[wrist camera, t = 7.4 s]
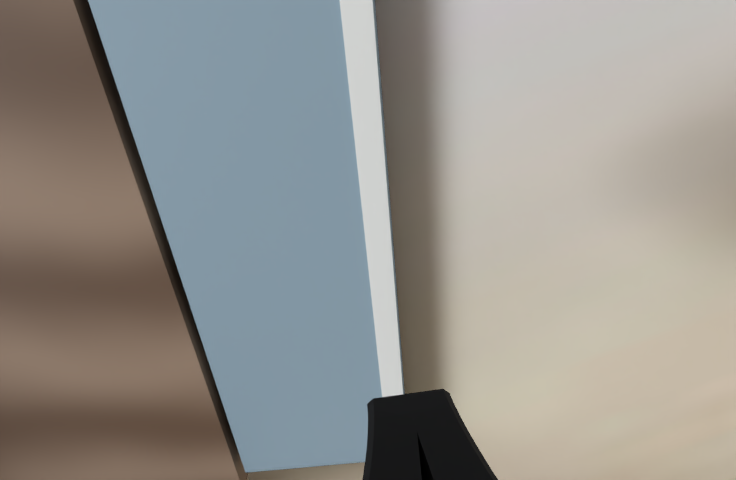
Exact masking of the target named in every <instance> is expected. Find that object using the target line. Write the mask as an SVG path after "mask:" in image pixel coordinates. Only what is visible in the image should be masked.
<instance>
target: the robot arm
mask: <svg viewBox="0 0 736 480" xmlns="http://www.w3.org/2000/svg"><path fill="white" fill-rule="evenodd" d="M367 409H368V436H367V449H366V458H365V466H364V475H363V480H498V479H497V478H496V476H495V475H494V473H493V471H492V470H491V468H490V467H489V465H488V464H487V462H486V460H485V459H484V457H483V455H482V454H481V452H480V450H479V449H478V447H477V445H476V444H475V442H474V440H473V439H472V437H471V435H470V433H469V432H468V430H467V428H466V426H465V424H464V423H463V421H462V419H461V417H460V415H459V413H458V411H457V409H456V407H455V405H454V403H453V401H452V398H451V396H450V394H449V393H448V392H447V391H445V390H444V389H439V390H432V391H424V392H417V393H410V394H402V395H395V396H387V397H380V398H373V399H372V400H371V401H370V402H369V403H368V404H367Z"/></svg>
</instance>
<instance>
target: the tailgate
mask: <svg viewBox="0 0 736 480" xmlns="http://www.w3.org/2000/svg"><path fill="white" fill-rule="evenodd" d="M88 2H89V5H90V8H91V11H92V14H93V17H94V20H95V23H96V26H97V29H98V32H99V35H100V38H101V41H102V44H103V47H104V50H105V53H106V56H107V59H108V62H109V65H110V68H111V71H112V74H113V77H114V80H115V83H116V86H117V89H118V92H119V95H120V98H121V101H122V104H123V107H124V110H125V113H126V116H127V119H128V122H129V125H130V128H131V131H132V134H133V137H134V140H135V143H136V146H137V149H138V152H139V155H140V158H141V161H142V164H143V167H144V170H145V173H146V176H147V179H148V182H149V185H150V188H151V191H152V194H153V197H154V200H155V203H156V206H157V209H158V212H159V215H160V218H161V221H162V224H163V227H164V230H165V233H166V236H167V239H168V242H169V245H170V248H171V251H172V254H173V257H174V260H175V263H176V266H177V269H178V272H179V275H180V278H181V281H182V284H183V287H184V290H185V293H186V296H187V299H188V302H189V305H190V308H191V311H192V314H193V317H194V320H195V323H196V326H197V329H198V332H199V335H200V338H201V341H202V344H203V347H204V350H205V353H206V356H207V359H208V362H209V365H210V368H211V371H212V374H213V377H214V380H215V383H216V386H217V389H218V392H219V395H220V398H221V401H222V404H223V407H224V410H225V413H226V416H227V419H228V422H229V425H230V428H231V431H232V434H233V437H234V440H235V443H236V446H237V449H238V452H239V455H240V458H241V461H242V464H243V467H244V470H245V473H247V472H259V471H270V470H281V469H292V468H303V467H314V466H325V465H337V464H348V463H359V462H365V458H366V449H367V436H368V409H367V404H368V403H369V402H370V401H371V400H372V399H373V398H380V397H387V396H395V395H402V394H405V392H404V379H403V366H402V353H401V340H400V326H399V313H398V300H397V287H396V274H395V260H394V247H393V234H392V221H391V208H390V194H389V181H388V168H387V155H386V142H385V128H384V115H383V102H382V89H381V76H380V62H379V49H378V36H377V23H376V9H375V0H88Z"/></svg>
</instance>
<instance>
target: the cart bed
mask: <svg viewBox="0 0 736 480" xmlns="http://www.w3.org/2000/svg"><path fill="white" fill-rule="evenodd" d="M247 475H248V474H247V473H245V470H244V467H243V464H242V461H241V458H240V455H239V452H238V449H237V446H236V443H235V440H234V437H233V434H232V431H231V428H230V425H229V422H228V419H227V416H226V413H225V410H224V407H223V404H222V401H221V398H220V395H219V392H218V389H217V386H216V383H215V380H214V377H213V374H212V371H211V368H210V365H209V362H208V359H207V356H206V353H205V350H204V347H203V344H202V341H201V338H200V335H199V332H198V329H197V326H196V323H195V320H194V317H193V314H192V311H191V308H190V305H189V302H188V299H187V296H186V293H185V290H184V287H183V284H182V281H181V278H180V275H179V272H178V269H177V266H176V263H175V260H174V257H173V254H172V251H171V248H170V245H169V242H168V239H167V236H166V233H165V230H164V227H163V224H162V221H161V218H160V215H159V212H158V209H157V206H156V203H155V200H154V197H153V194H152V191H151V188H150V185H149V182H148V179H147V176H146V173H145V170H144V167H143V164H142V161H141V158H140V155H139V152H138V149H137V146H136V143H135V140H134V137H133V134H132V131H131V128H130V125H129V122H128V119H127V116H126V113H125V110H124V107H123V104H122V101H121V98H120V95H119V92H118V89H117V86H116V83H115V80H114V77H113V74H112V71H111V68H110V65H109V62H108V59H107V56H106V53H105V50H104V47H103V44H102V41H101V38H100V35H99V32H98V29H97V26H96V23H95V20H94V17H93V14H92V11H91V8H90V5H89V2H88V0H0V480H247Z"/></svg>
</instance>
